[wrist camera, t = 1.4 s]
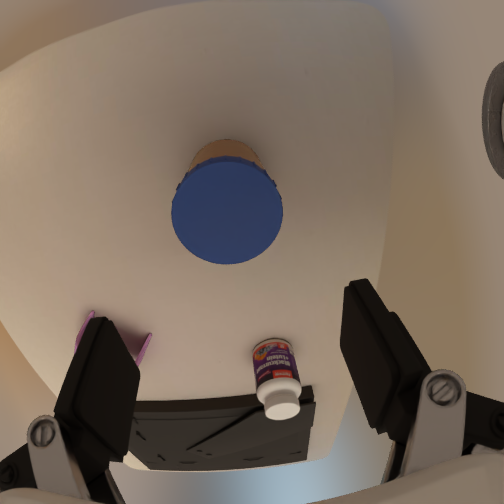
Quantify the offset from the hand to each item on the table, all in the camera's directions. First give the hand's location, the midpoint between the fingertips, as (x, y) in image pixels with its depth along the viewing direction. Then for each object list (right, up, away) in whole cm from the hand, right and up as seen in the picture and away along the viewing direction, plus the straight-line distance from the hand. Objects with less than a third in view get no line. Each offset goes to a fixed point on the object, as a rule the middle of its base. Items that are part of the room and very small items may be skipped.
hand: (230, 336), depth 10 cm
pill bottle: (+3, -10, +29) cm, 31 cm away
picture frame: (-7, -34, +42) cm, 54 cm away
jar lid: (-1, +5, +9) cm, 10 cm away
